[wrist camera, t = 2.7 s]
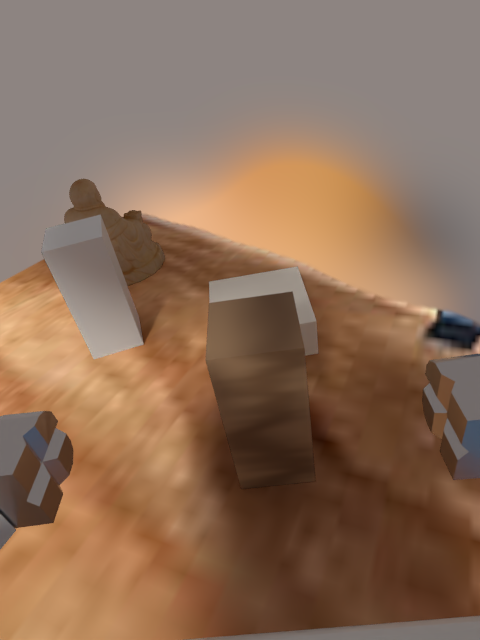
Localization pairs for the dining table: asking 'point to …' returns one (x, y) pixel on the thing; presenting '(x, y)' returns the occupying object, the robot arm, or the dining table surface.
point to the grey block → (93, 285)
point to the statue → (118, 232)
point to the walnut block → (262, 388)
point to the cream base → (272, 285)
